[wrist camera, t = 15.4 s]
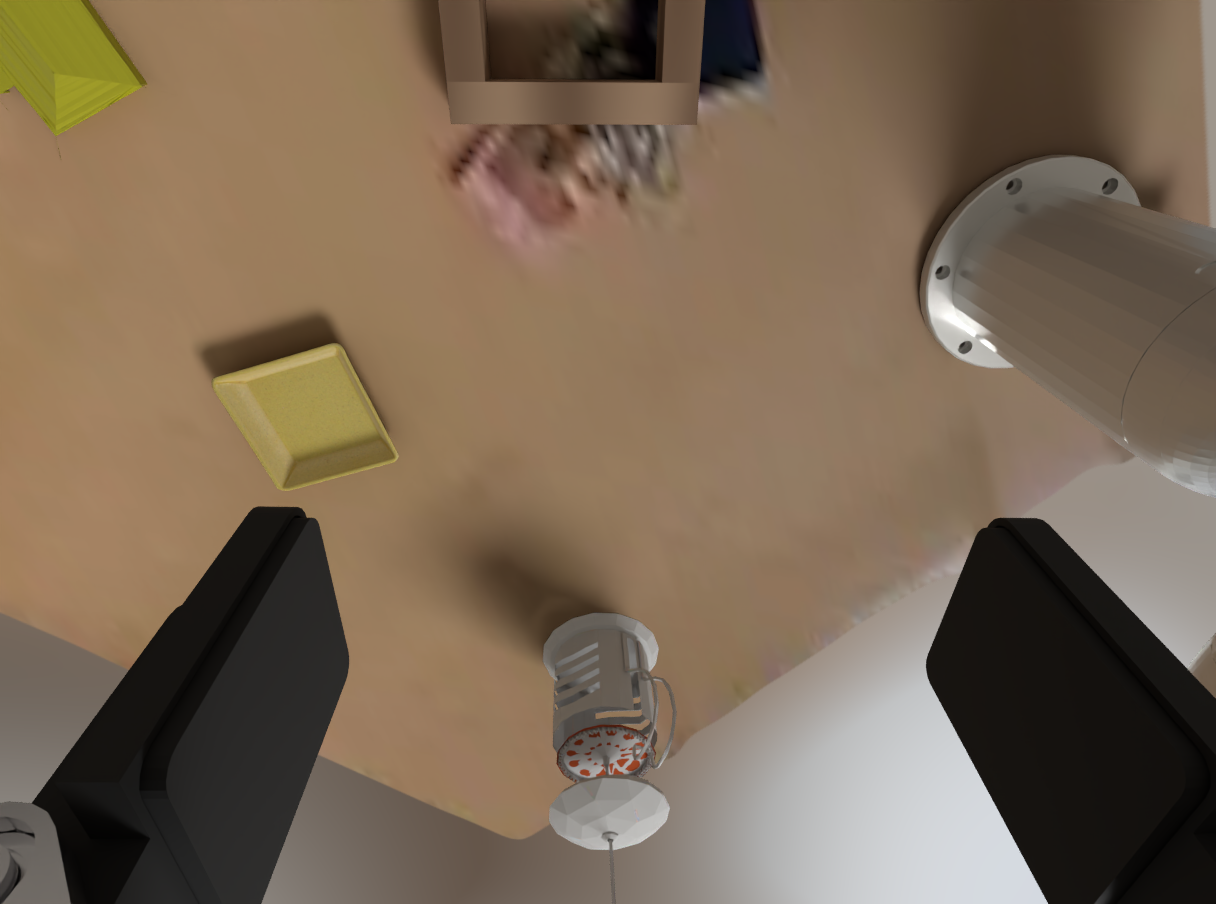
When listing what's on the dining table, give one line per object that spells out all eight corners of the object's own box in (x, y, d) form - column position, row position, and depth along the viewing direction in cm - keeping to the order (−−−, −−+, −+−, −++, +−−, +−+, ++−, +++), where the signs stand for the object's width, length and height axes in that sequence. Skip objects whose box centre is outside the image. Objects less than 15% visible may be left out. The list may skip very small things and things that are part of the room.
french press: (518, 663, 57) (489, 1037, 36) (605, 580, 52) (630, 949, 31) (609, 708, 60) (631, 1071, 39) (697, 633, 56) (776, 997, 35)
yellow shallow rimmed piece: (220, 365, 42) (205, 380, 40) (348, 328, 41) (339, 341, 39) (290, 476, 47) (279, 493, 45) (407, 444, 46) (401, 461, 44)
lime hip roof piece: (200, 100, 35) (173, 105, 32) (63, 176, 36) (27, 186, 34) (42, -133, 30) (-4, -148, 27) (-110, -33, 31) (-166, -38, 29)
